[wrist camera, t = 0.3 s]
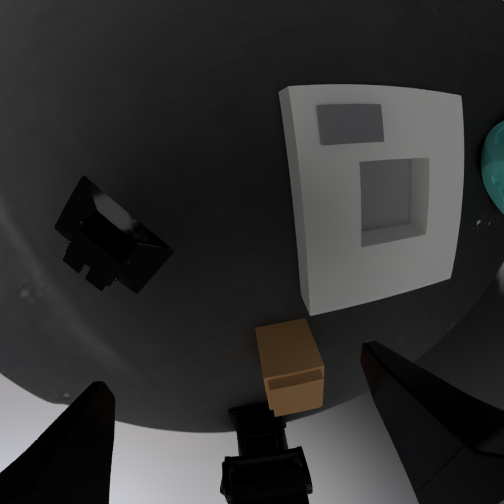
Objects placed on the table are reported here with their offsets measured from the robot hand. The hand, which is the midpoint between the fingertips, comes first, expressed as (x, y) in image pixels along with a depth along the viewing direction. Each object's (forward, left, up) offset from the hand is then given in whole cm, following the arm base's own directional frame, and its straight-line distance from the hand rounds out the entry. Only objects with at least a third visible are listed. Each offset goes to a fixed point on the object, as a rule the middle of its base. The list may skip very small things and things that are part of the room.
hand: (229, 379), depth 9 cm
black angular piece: (+1, +9, -14) cm, 17 cm away
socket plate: (+1, -12, -14) cm, 18 cm away
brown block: (-12, -3, -14) cm, 18 cm away
